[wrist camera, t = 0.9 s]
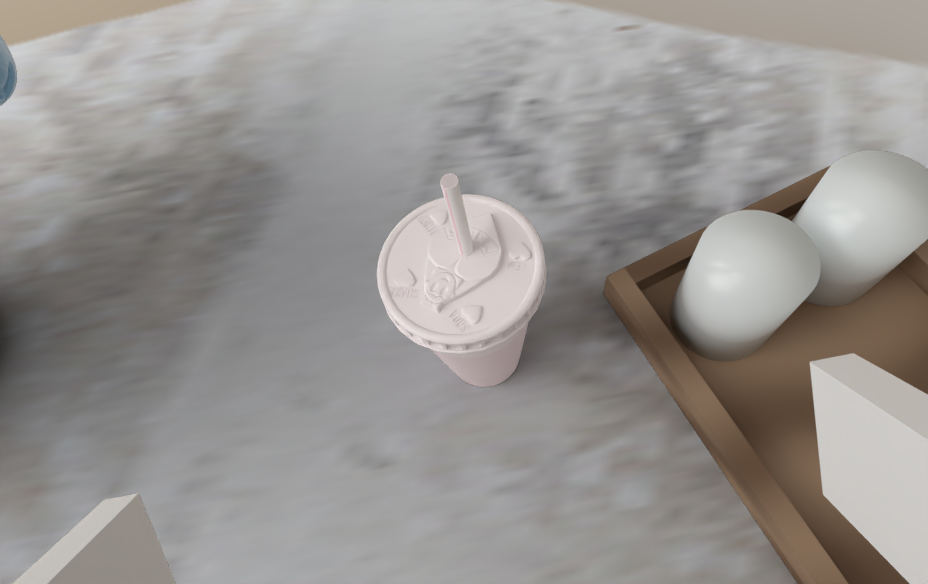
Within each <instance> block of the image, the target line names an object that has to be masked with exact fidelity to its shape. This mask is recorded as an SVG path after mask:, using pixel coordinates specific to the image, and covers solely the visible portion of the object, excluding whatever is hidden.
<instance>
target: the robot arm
mask: <svg viewBox="0 0 928 584" xmlns="http://www.w3.org/2000/svg"><path fill="white" fill-rule="evenodd" d="M16 83H17V71H16V65H15V62H14V60H13V57H12V55H11V52H10V50H9V49H8V47H7V45H6V43H5V41H4V40H3V38H2V37H1V35H0V106H1V105H2V104H4V103H5V102H6V101H7V100H8V99H9V98H10V96H11V95H12V93H13V92H14V89H15V87H16ZM810 371H811V381H812V391H813V401H814V411H815V421H816V431H817V441H818V451H819V460H820V470H821V480H822V490H823V495H824V496H825V497H826V498H827V499H828V500H829V501H830V502H831V503H832V504H833V505H834V506H835V507H836V508H837V509H838V510H839V512H840V513H841V514H842V515H843V516H844V517H845V518H846V519H847V520H848V521H849V522H850V523H851V524H852V525H853V526H854V527H855V528H856V529H857V530H858V531H859V532H860V533H861V534H862V535H863V536H864V537H865V538H866V539H867V540H868V541H869V542H870V543H871V544H872V545H873V547H874V548H875V549H876V550H877V551H878V552H879V553H880V554H881V555H882V556H883V557H884V558H885V559H886V560H887V561H888V562H889V563H890V564H891V565H892V566H893V567H894V568H895V569H896V570H897V571H898V572H899V573H900V574H901V575H902V576H903V577H904V578H905V579H906V580H907V581H908V583H909V584H928V394H926V393H924V392H922V391H920V390H919V389H917V388H915V387H913V386H911V385H910V384H908V383H906V382H904V381H903V380H901V379H899V378H897V377H895V376H894V375H892V374H890V373H888V372H886V371H885V370H883V369H881V368H879V367H877V366H876V365H874V364H872V363H870V362H868V361H867V360H865V359H863V358H861V357H859V356H858V355H856V354H854V353H852V354H847V355H842V356H836V357H831V358H826V359H821V360H816V361H811V362H810ZM13 584H176V583H175V580H174V578H173V575H172V573H171V570H170V568H169V565H168V563H167V561H166V558H165V556H164V553H163V551H162V548H161V546H160V543H159V541H158V539H157V536H156V534H155V531H154V529H153V526H152V524H151V521H150V519H149V516H148V514H147V512H146V509H145V507H144V504H143V502H142V499H141V497H140V494H139V493H136V494H131V495H126V496H121V497H116V498H111V499H105V500H103V501H102V502H101V503H100V504H99V505H98V506H97V507H96V508H94V509H93V510H92V511H91V512H90V513H89V514H88V515H87V516H86V517H85V518H84V519H82V520H81V521H80V522H79V523H78V524H77V525H76V526H75V527H74V528H73V529H72V530H70V531H69V532H68V533H67V534H66V535H65V536H64V537H63V538H62V539H61V540H60V541H58V542H57V543H56V544H55V545H54V546H53V547H52V548H51V549H50V550H49V551H48V552H46V553H45V554H44V555H43V556H42V557H41V558H40V559H39V560H38V561H37V562H36V563H34V564H33V565H32V566H31V567H30V568H29V569H28V570H27V571H26V572H25V573H24V574H22V575H21V576H20V577H19V578H18V579H17V580H16V581H15V582H14V583H13Z"/></svg>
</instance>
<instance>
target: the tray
mask: <svg viewBox="0 0 928 584" xmlns="http://www.w3.org/2000/svg"><path fill="white" fill-rule="evenodd" d="M829 168H830V166H829V167H827V168H825V169H823V170H821V171H819V172H817V173H815V174H813V175H811V176H809V177H806V178H804V179H802V180H800V181H798V182H796V183H794V184H792V185H790V186H788V187H786V188H784V189H782V190H780V191H778V192H776V193H774V194H772V195H770V196H768V197H766V198H764V199H762V200H760V201H758V202H756V203H754V204H752V205H750V206H748V207H746V208H744V209H742V210H760V211H767V212H771V213H774V214H777V215H780V216H782V217H784V218H786V219H788V220H790V221H792V220H793V219H794V217H795V216H796V214H797V213H798V212H799V210H800V209H801V207H802V206H803V204H804V203H805V202H806V200H807V199H808V197H809V196H810V194H811V193H812V192H813V190H814V189H815V187H816V186H817V185H818V183H819V182H820V180H821V179H822V177H823V176H824V175H825V173H826V172H827V170H828V169H829ZM740 211H741V210H740ZM707 227H708V226H707ZM707 227H705V228H703V229H701V230H699V231H697V232H695V233H693V234H691V235H689V236H687V237H685V238H683V239H681V240H679V241H677V242H675V243H673V244H671V245H669V246H667V247H665V248H663V249H661V250H659V251H657V252H655V253H653V254H651V255H649V256H647V257H644V258H642V259H640V260H638V261H636V262H634V263H632V264H630V265H628V266H626V267H624V268H622V269H620V270H618V271H616V272H614V273H612V274H610V275H608V276H607V277H606V282H605V287H604V292H603V294H604V295H605V297H606V298H607V300H608V301H609V303H610V304H611V306H612V307H613V309H614V310H615V312H616V313H617V315H618V316H619V318H620V319H621V321H622V322H623V324H624V325H625V327H626V328H627V330H628V331H629V333H630V334H631V336H632V337H633V339H634V340H635V342H636V343H637V345H638V346H639V348H640V349H641V351H642V352H643V354H644V355H645V357H646V358H647V360H648V361H649V363H650V364H651V366H652V367H653V369H654V370H655V372H656V373H657V375H658V376H659V377H660V379H661V380H662V382H663V383H664V385H665V386H666V388H667V389H668V391H669V392H670V394H671V395H672V397H673V398H674V400H675V401H676V403H677V404H678V406H679V407H680V409H681V410H682V412H683V413H684V415H685V416H686V418H687V419H688V421H689V422H690V424H691V425H692V427H693V428H694V430H695V431H696V433H697V434H698V436H699V437H700V439H701V440H702V442H703V443H704V445H705V446H706V448H707V449H708V451H709V452H710V454H711V455H712V456H713V458H714V459H715V461H716V462H717V464H718V465H719V467H720V468H721V470H722V471H723V473H724V474H725V476H726V477H727V479H728V480H729V482H730V483H731V485H732V486H733V488H734V489H735V491H736V492H737V494H738V495H739V497H740V498H741V500H742V501H743V503H744V504H745V506H746V507H747V509H748V510H749V512H750V513H751V515H752V516H753V518H754V519H755V521H756V522H757V524H758V525H759V527H760V528H761V530H762V531H763V533H764V534H765V536H766V537H767V538H768V540H769V541H770V543H771V544H772V546H773V547H774V549H775V550H776V552H777V553H778V555H779V556H780V558H781V559H782V561H783V562H784V564H785V565H786V567H787V568H788V570H789V571H790V573H791V574H792V576H793V577H794V579H795V580H796V582H797V583H798V584H909V583H908V581H907V580H906V579H905V578H904V577H903V576H902V575H901V574H900V573H899V572H898V571H897V570H896V569H895V568H894V567H893V566H892V565H891V564H890V563H889V562H888V561H887V560H886V559H885V558H884V557H883V556H882V555H881V554H880V553H879V552H878V551H877V550H876V549H875V548H874V547H873V545H872V544H871V543H870V542H869V541H868V540H867V539H866V538H865V537H864V536H863V535H862V534H861V533H860V532H859V531H858V530H857V529H856V528H855V527H854V526H853V525H852V524H851V523H850V522H849V521H848V520H847V519H846V518H845V517H844V516H843V515H842V514H841V513H840V512H839V510H838V509H837V508H836V507H835V506H834V505H833V504H832V503H831V502H830V501H829V500H828V499H827V498H826V497H825V496H824V495H823V490H822V480H821V470H820V460H819V451H818V441H817V431H816V421H815V411H814V401H813V391H812V381H811V371H810V362H811V361H816V360H821V359H826V358H831V357H836V356H842V355H847V354H852V353H854V354H856V355H858V356H859V357H861V358H863V359H865V360H867V361H868V362H870V363H872V364H874V365H876V366H877V367H879V368H881V369H883V370H885V371H886V372H888V373H890V374H892V375H894V376H895V377H897V378H899V379H901V380H903V381H904V382H906V383H908V384H910V385H911V386H913V387H915V388H917V389H919V390H920V391H922V392H924V393H926V394H928V239H927V240H926V241H925V242H924V243H923V244H921V245H920V246H919V247H918V248H917V249H916V250H914V251H913V252H912V253H911V254H910V255H909V256H908V257H906V258H905V259H904V260H903V261H902V262H901V263H900V264H898V265H897V266H896V267H895V268H894V269H893V270H891V271H890V272H889V273H888V274H887V275H886V276H885V277H883V278H882V279H881V280H880V281H879V282H878V283H877V284H875V285H874V286H873V287H872V288H871V289H870V290H868V291H867V292H866V293H865V294H864V295H863V296H862V297H860V298H859V299H857V300H856V301H854V302H852V303H849V304H846V305H842V306H821V305H816V304H812V303H809V302H807V301H803V302H802V303H801V304H800V305H799V306H798V307H797V309H796V310H795V311H794V312H793V313H792V314H791V315H790V316H789V317H788V318H787V319H786V320H785V321H784V322H783V323H782V324H781V326H780V327H779V328H778V329H777V330H776V331H775V332H774V333H773V334H772V335H771V336H770V337H769V338H768V339H767V340H766V341H765V342H764V344H763V345H762V346H761V347H760V348H759V349H758V350H757V351H755V352H754V353H753V354H751V355H750V356H748V357H746V358H743V359H740V360H736V361H726V362H723V361H715V360H710V359H707V358H704V357H702V356H700V355H697V354H696V353H694V352H692V351H691V350H690V349H688V348H687V347H686V346H685V345H684V344H683V343H682V342H681V341H680V340H679V338H678V337H677V335H676V334H675V332H674V330H673V328H672V324H671V321H670V306H671V302H672V299H673V297H674V295H675V293H676V291H677V288H678V286H679V284H680V282H681V280H682V277H683V275H684V273H685V271H686V269H687V267H688V264H689V262H690V260H691V258H692V256H693V253H694V251H695V249H696V247H697V245H698V242H699V240H700V238H701V236H702V234H703V232H704V231H705V230H706V228H707Z"/></svg>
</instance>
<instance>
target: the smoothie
mask: <svg viewBox="0 0 928 584" xmlns="http://www.w3.org/2000/svg"><path fill="white" fill-rule="evenodd" d="M440 184H441V188H442V191H443V195H444V197H442V198H439V199H436V200H433V201H430V202H428V203H426V204H424V205H422V206H420V207H418V208H417V209H415V210H413V211H412V212H411V213H409V214H408V215H407V216H405V217H404V218H403V219H402V220H401V221H400V222H399V223H398V224H397V225H396V226H395V228H394V229H393V230H392V231H391V233H390V234H389V236H388V237H387V239H386V241H385V243H384V245H383V247H382V250H381V252H380V256H379V260H378V265H377V283H378V289H379V293H380V296H381V299H382V301H383V303H384V305H385V308H386V311H387V314H388V316H389V317H390V319H391V320H392V321H393V323H394V324H395V325H396V327H397V328H398V329H399V331H400V332H402V333H403V334H404V335H406V336H407V337H408V338H410V339H411V340H412V341H414V342H415V343H416V344H418V345H421V346H424V347H426V348H429V349H431V350H432V351H433V352H434V353H435V354H436V355H437V356H438V357H439V358H440V359H441V360H442V361H443V362H444V363H445V364H446V365H447V366H448V367H449V368H450V369H451V370H452V371H453V372H454V373H455V374H457V375H458V376H459V377H460V378H461V379H462V380H463V381H465V382H466V383H468V384H471V385H474V386H478V387H489V386H494V385H497V384H499V383H501V382H503V381H505V380H506V379H507V378H509V377H510V376H511V375H512V374H513V372H514V371H515V369H516V368H517V366H518V363H519V360H520V356H521V351H522V347H523V343H524V339H525V335H526V331H527V327H528V323H529V320H530V319H531V317H532V316H533V315H534V314H535V312H536V311H537V309H538V306H539V304H540V302H541V299H542V297H543V294H544V292H545V284H546V274H547V270H546V264H545V256H544V250H543V246H542V243H541V240H540V238H539V235H538V234H537V232H536V230H535V228H534V227H533V225H532V224H531V223H530V222H529V220H528V219H527V218H526V217H525V216H524V215H523V214H522V213H520V212H519V211H518V210H516V209H515V208H514V207H512V206H510V205H509V204H507V203H505V202H502V201H500V200H497V199H495V198H491V197H488V196H482V195H474V194H461V191H460V186H459V182H458V178H457V176H456V175H454V174H446V175H444V176H443V177H442V178H441V180H440Z"/></svg>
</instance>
